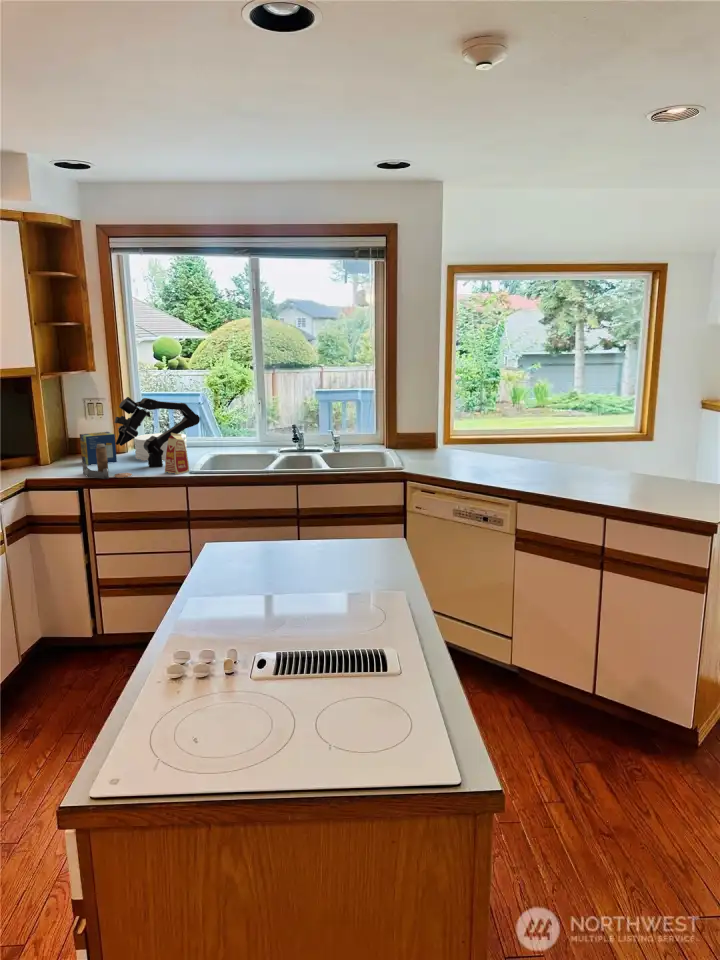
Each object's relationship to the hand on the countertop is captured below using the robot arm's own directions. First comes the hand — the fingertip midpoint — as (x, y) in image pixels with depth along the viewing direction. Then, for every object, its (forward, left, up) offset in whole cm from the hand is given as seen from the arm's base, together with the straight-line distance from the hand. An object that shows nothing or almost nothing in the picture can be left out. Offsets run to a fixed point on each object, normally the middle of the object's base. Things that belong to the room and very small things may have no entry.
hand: (118, 444), depth 318 cm
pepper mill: (+7, +4, -13) cm, 15 cm away
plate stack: (-17, -38, -13) cm, 44 cm away
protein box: (+14, -26, -13) cm, 33 cm away
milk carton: (-29, +10, -13) cm, 33 cm away
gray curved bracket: (+9, +12, -13) cm, 20 cm away
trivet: (-4, +15, -13) cm, 20 cm away
